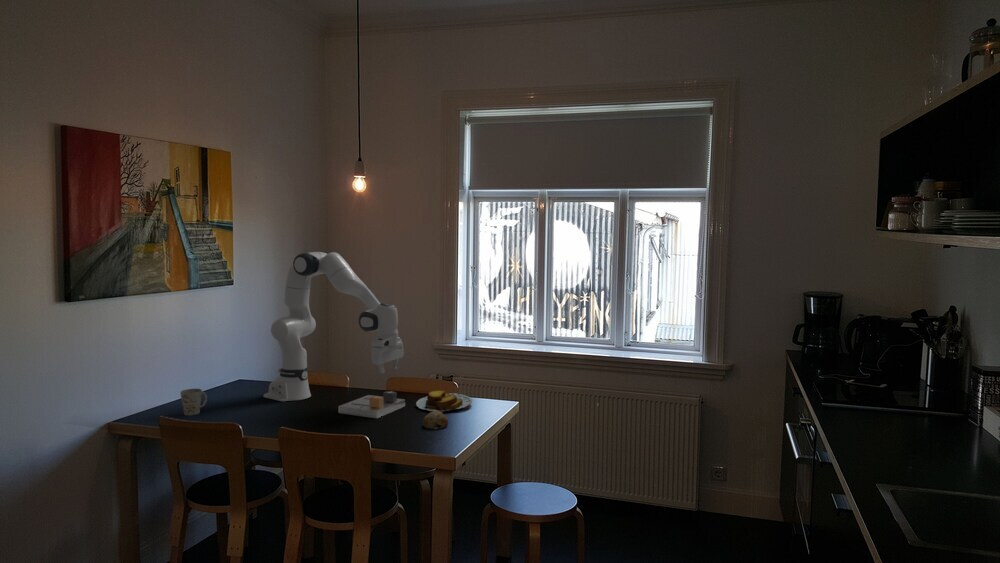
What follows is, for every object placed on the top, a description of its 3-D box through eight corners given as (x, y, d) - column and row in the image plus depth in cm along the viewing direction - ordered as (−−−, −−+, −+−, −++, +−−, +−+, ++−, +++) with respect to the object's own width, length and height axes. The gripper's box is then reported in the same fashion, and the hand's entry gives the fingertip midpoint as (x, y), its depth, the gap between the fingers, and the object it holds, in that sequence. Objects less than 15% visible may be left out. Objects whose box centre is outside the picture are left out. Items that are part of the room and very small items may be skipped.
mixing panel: (338, 413, 288) (338, 406, 288) (368, 401, 308) (368, 394, 308) (376, 418, 280) (376, 411, 279) (405, 406, 300) (405, 399, 299)
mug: (176, 415, 284) (175, 392, 283) (199, 407, 296) (198, 385, 295) (191, 417, 281) (191, 393, 280) (214, 409, 293) (213, 387, 292)
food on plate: (481, 410, 294) (481, 395, 294) (428, 417, 283) (428, 402, 283) (458, 397, 317) (458, 383, 317) (408, 403, 306) (408, 389, 305)
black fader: (383, 401, 295) (383, 392, 295) (387, 399, 298) (387, 390, 298) (392, 402, 293) (392, 393, 293) (396, 401, 296) (396, 392, 296)
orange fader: (369, 406, 286) (369, 397, 286) (373, 405, 289) (373, 395, 289) (379, 408, 284) (379, 398, 284) (383, 406, 287) (383, 397, 287)
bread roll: (425, 438, 265) (428, 422, 261) (418, 421, 273) (421, 406, 270) (449, 435, 269) (451, 420, 265) (441, 418, 277) (444, 403, 274)
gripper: (395, 336, 303) (395, 365, 304) (368, 342, 285) (369, 374, 286) (407, 337, 301) (407, 367, 302) (380, 343, 282) (381, 375, 283)
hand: (388, 370), depth 294 cm, fingers open, 8 cm apart
